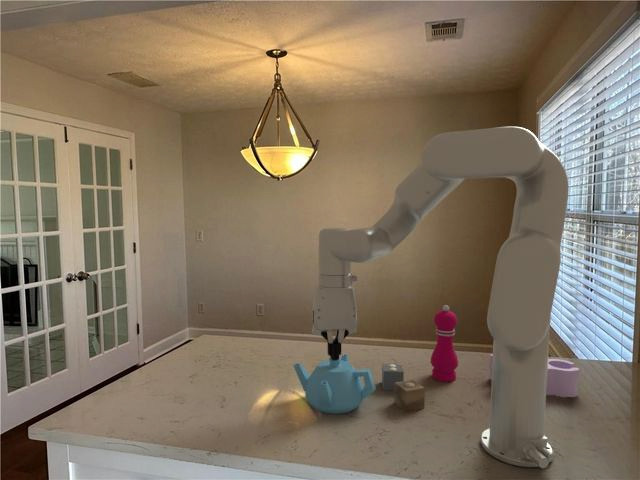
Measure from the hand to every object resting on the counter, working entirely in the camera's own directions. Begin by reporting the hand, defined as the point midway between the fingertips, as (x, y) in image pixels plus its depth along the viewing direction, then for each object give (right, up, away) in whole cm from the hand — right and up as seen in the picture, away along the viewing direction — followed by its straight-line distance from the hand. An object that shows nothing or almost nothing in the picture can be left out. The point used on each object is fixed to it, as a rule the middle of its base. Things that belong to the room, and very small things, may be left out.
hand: (334, 357), depth 102 cm
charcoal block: (+15, -10, +10) cm, 21 cm away
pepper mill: (+31, -10, +16) cm, 36 cm away
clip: (+51, -11, +10) cm, 53 cm away
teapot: (0, -11, +1) cm, 11 cm away
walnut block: (+18, -11, -1) cm, 21 cm away
